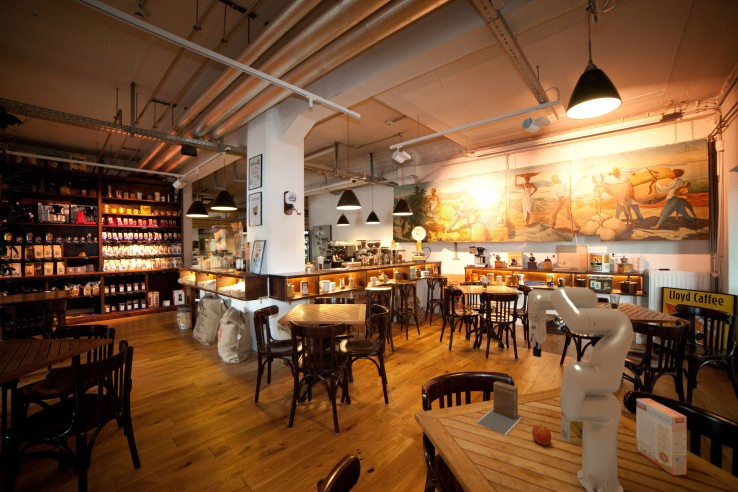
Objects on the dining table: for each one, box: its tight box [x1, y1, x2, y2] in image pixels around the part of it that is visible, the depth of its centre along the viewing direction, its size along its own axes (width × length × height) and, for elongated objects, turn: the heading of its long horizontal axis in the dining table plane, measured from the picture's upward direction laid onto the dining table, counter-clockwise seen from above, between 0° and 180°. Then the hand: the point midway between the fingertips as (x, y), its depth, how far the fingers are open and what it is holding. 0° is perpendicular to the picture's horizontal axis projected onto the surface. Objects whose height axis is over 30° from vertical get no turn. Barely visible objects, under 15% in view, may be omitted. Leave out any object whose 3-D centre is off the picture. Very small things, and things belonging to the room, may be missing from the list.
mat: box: [475, 406, 524, 437], centre depth 144 cm, size 20×14×1 cm
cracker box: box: [635, 397, 688, 476], centre depth 117 cm, size 14×6×21 cm, turn 4°
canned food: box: [560, 408, 584, 445], centre depth 132 cm, size 8×8×12 cm
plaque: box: [493, 380, 519, 420], centre depth 149 cm, size 4×10×14 cm, turn 45°
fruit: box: [531, 423, 552, 446], centre depth 128 cm, size 7×7×8 cm
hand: (537, 356), depth 147 cm, fingers closed
